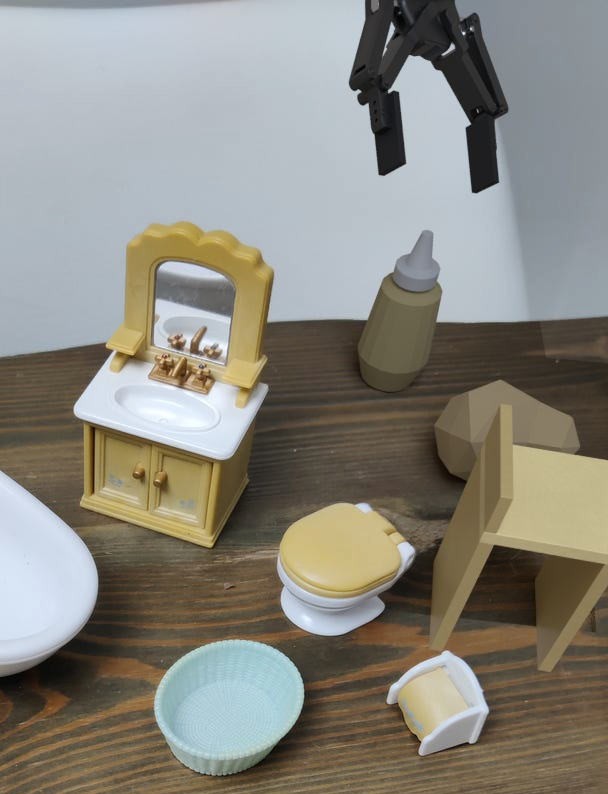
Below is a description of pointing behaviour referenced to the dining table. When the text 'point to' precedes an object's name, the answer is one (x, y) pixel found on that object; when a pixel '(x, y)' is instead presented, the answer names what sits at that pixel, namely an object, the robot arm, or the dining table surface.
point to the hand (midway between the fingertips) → (440, 179)
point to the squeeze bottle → (402, 320)
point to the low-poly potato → (473, 418)
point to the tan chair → (527, 535)
